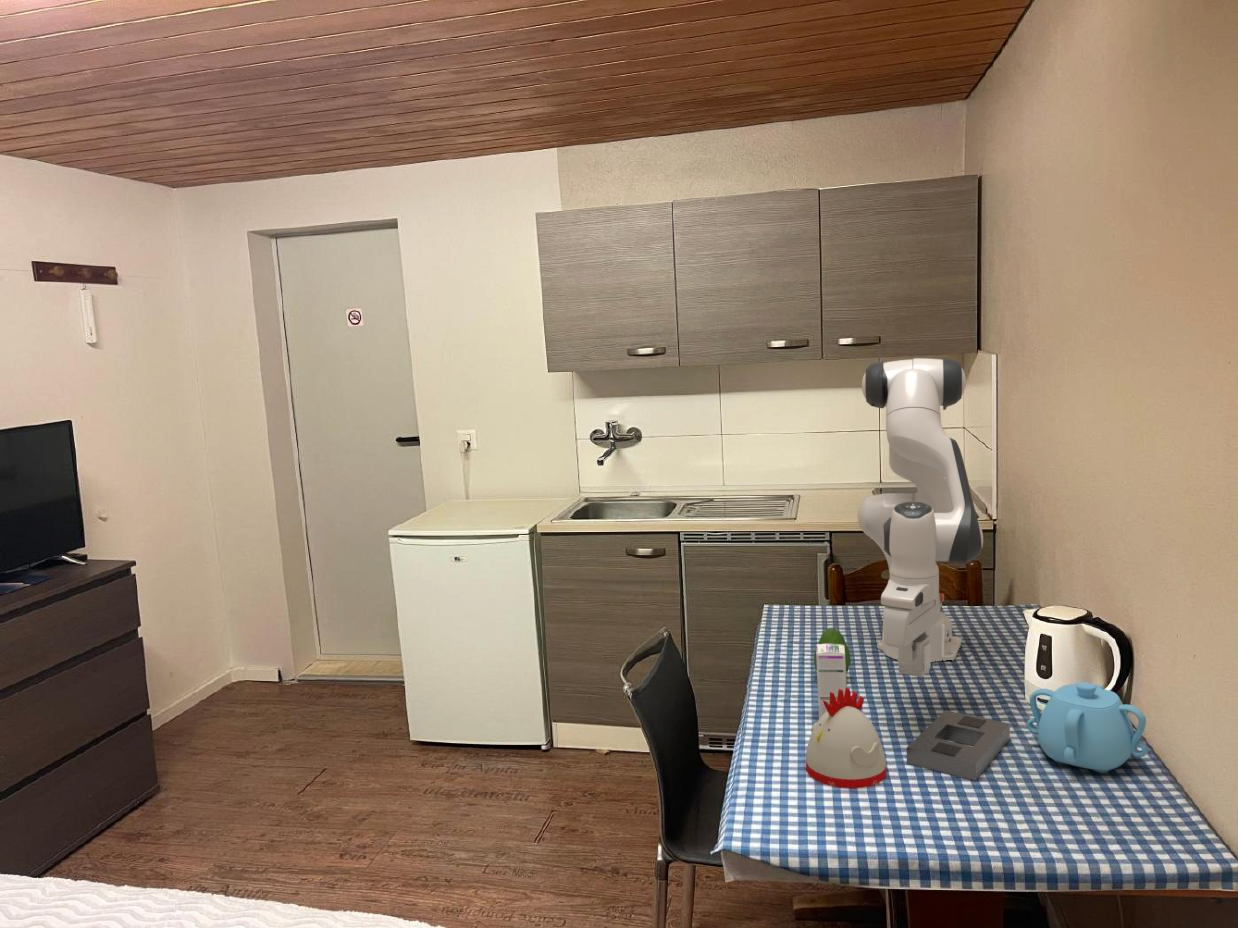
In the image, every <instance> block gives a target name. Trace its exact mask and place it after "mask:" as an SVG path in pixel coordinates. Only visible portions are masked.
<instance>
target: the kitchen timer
mask: <svg viewBox="0 0 1238 928" xmlns="http://www.w3.org/2000/svg"><path fill="white" fill-rule="evenodd" d="M864 701H865V697H863V696H859V698H858V692H856V691H853V692H852V694H851V689H850V688H849V687H848V686H847V687H846V689H845V694H843V690H841V689H839V691H838V697H837V701H836V698H835V695H834V693H832V692H830V703H829V704H828V703H827V702H826V701H824V700H823V703H824V706H825V708H826V710H827V712H825V713H824V714H823V715H822V716H821V718H820V719H819V718H818V721H816V722H815V723H813V724H812V726H811V734H810V737H809V740H808V743H807V747H806V750H805V772H806V773H807V775H809V777H810V778H812V779H813V780H815V782H819V783H820V784H824V785H826V786H830V787H834V788H841V789H862V788H868V787H872V786H874V785H877V784H880V783H881V782H882V781H884V780H885V778H886V775H887V759H886V755H885V752H884V749H883V748H884V747H883V745H882V741H881V739H880V736H879V734H878V732H877V730H876V728H875V726H874V724H873V723H872V722H871V720H870V719H869V718H868V717H867V716H866V714H865V713H864V712H862V708H863V704H864Z"/></svg>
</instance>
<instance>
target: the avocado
mask: <svg viewBox="0 0 1238 928" xmlns="http://www.w3.org/2000/svg"><path fill="white" fill-rule="evenodd" d="M817 644H843V645H844V647H845V660H846V674H847V673H848V672H849V669H850V665H851V654H850V649H849V647H848V645H847V642H846V639H845V637H844V635H843V634H842V633H841V632H840V631H839V630H837V629H835V628H831V627H830V628H827V629H825V631H823V632H822V634H821V636H820V638H819V639H818V642H817ZM816 648H817V646H816V647H815V650H814V654H813V655H814V656H813V664H814V668H815V670H816V672H817V659H816Z"/></svg>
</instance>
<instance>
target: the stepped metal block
mask: <svg viewBox="0 0 1238 928" xmlns="http://www.w3.org/2000/svg"><path fill="white" fill-rule="evenodd" d="M912 651H914V659H913V660H912V661H911V662H906V661H903V658H902V651H901V648H898V660H897V664H898V665H897V667H898V674H903V675H907V676H913V677H916V678H917V677H918V678H923V677H924V676H925V675H926V674H927V673H929V671H930V670H931V663H932V662H931V660H930V636H929V635H923V634H921V635H920V636H919V637H918V638H916V639H915V640H914V641H913V645H912Z"/></svg>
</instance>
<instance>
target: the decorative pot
mask: <svg viewBox="0 0 1238 928" xmlns="http://www.w3.org/2000/svg"><path fill="white" fill-rule="evenodd" d="M1038 696H1047V697H1050V698H1049V699H1048V701H1047V703H1046V705H1045V707H1044V708H1043V710H1042V713H1040V710H1039V707H1038V705H1037V697H1038ZM1029 706H1030V709H1031V710H1030V711H1031V712H1032V715H1033V717H1031V718H1029V719H1028V720H1027V723H1026V727H1027V729H1028V731H1029V732H1031V733H1033V734H1035V735H1037V741H1038V743H1039V745H1040V748H1041V749H1042V751H1043V752H1044V753H1045V755H1047V756H1048V757H1049V758H1050V759H1052V760H1053V762H1056V763H1059V764H1067V765H1069V766H1074V767H1078V768H1082V769H1083V768H1084V769H1088V770H1092V771H1094V772H1096V773H1101V774H1107V773H1109V771H1110V770H1111V771H1112V770H1114V769H1117V768H1119V767H1121V766H1122V765H1123V764H1124V763H1126V762H1127V761H1128V759H1129V758H1130V757H1131V756H1133V757H1137V758H1138V757H1139V758H1142V757H1145V756H1147V755H1148V753H1149V748H1148V746H1147V744H1146V743H1145V742H1143V741H1140V739H1141V738H1142V736H1143V733H1144V731H1145V729H1146V725H1147V718H1146V715H1145V714H1144V713H1143V712H1142V711H1141V709H1139V708H1138V707H1136V706H1134V705H1131V704H1123V702H1122V700H1121V698H1120V696H1119V695H1118V694H1117V693H1116V692H1114V691H1112V690H1109V689H1106V688H1105V687H1104V686H1102V685H1100V684H1094V683H1091V682H1085V681H1080V682H1077V683H1076V684H1072V683H1071V684H1070V683H1069V684H1066V685H1063V686H1060V687H1059V688H1057V689H1056V690H1054V691H1053V690H1052V689H1048V688H1039V689H1035V690H1034V691H1033V692H1032V693H1031V695H1030V696H1029ZM1128 712H1129V713H1131V714H1133V715H1134V716H1136V718H1137V721H1138V725H1137V728H1136V731H1135V733H1134V729H1133V726H1132V722H1131V719H1130V717H1129V713H1128ZM1033 723H1036V726H1034V725H1033ZM1137 747H1140V748H1141V750H1139V749H1138V748H1137Z"/></svg>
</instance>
